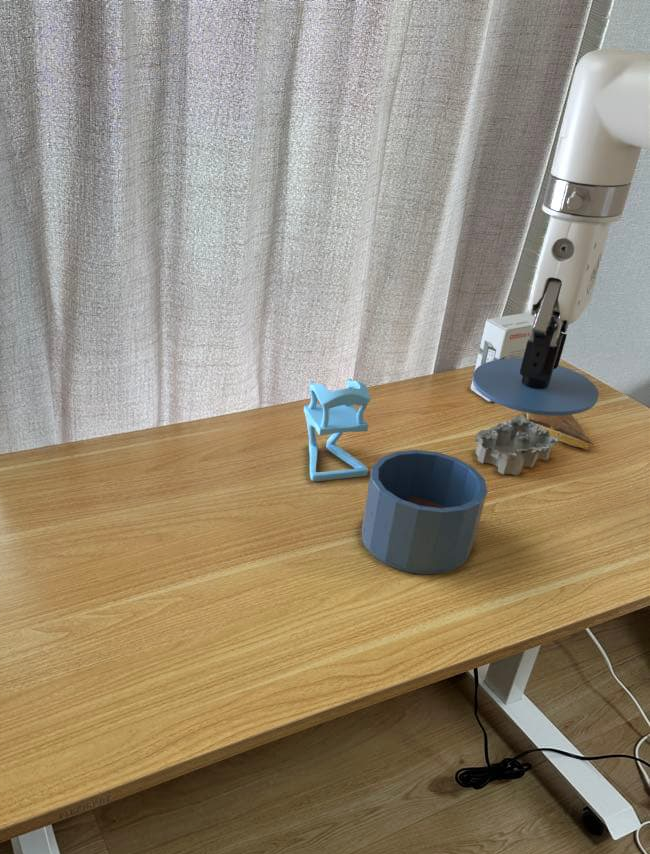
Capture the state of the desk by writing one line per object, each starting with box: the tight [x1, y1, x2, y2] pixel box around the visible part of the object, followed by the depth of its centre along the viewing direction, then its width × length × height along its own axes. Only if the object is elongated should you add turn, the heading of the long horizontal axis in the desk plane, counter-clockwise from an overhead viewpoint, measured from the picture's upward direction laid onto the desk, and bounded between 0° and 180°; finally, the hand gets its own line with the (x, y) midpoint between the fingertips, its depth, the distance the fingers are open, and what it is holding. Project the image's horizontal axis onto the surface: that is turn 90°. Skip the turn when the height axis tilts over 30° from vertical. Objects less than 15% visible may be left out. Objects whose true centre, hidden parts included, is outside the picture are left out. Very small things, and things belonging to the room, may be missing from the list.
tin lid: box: [472, 329, 600, 416], centre depth 89 cm, size 14×14×7 cm
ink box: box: [470, 311, 535, 403], centre depth 123 cm, size 9×5×12 cm, turn 116°
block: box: [408, 496, 445, 508], centre depth 93 cm, size 4×4×4 cm
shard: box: [526, 413, 594, 451], centre depth 116 cm, size 11×8×2 cm
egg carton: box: [474, 414, 559, 476], centre depth 110 cm, size 11×8×4 cm
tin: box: [361, 449, 488, 575], centre depth 92 cm, size 13×13×8 cm
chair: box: [303, 378, 371, 482], centre depth 104 cm, size 8×8×12 cm
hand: (538, 369), depth 90 cm, fingers closed on tin lid, 3 cm apart
